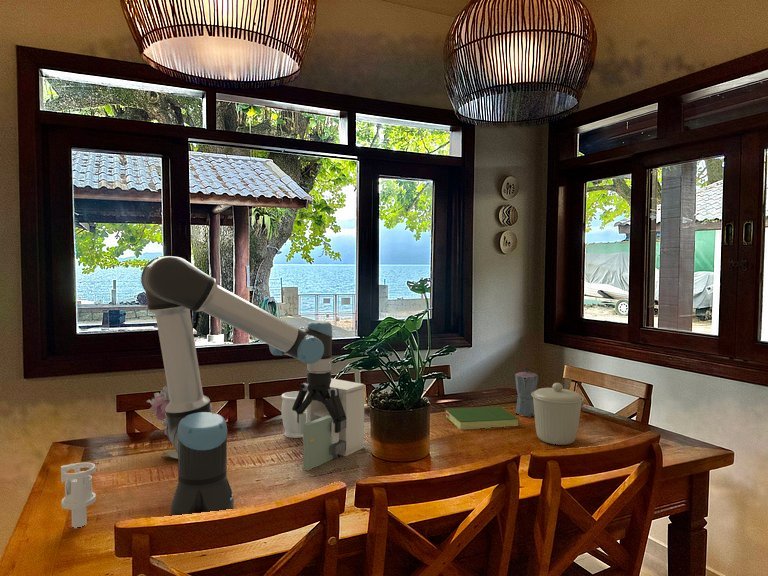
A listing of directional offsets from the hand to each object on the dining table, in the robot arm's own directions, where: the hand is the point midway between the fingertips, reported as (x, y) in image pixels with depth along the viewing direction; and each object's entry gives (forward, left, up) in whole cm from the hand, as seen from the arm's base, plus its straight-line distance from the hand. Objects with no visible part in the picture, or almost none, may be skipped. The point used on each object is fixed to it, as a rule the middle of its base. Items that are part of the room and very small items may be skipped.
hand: (318, 438), depth 163 cm
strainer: (-62, +21, -8) cm, 66 cm away
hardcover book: (+72, -23, -9) cm, 76 cm away
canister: (+67, -55, -8) cm, 87 cm away
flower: (-18, +44, -9) cm, 48 cm away
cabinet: (+12, +5, -8) cm, 16 cm away
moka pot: (+93, -35, -8) cm, 100 cm away
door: (+1, 0, -8) cm, 8 cm away
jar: (+16, +25, -8) cm, 31 cm away
